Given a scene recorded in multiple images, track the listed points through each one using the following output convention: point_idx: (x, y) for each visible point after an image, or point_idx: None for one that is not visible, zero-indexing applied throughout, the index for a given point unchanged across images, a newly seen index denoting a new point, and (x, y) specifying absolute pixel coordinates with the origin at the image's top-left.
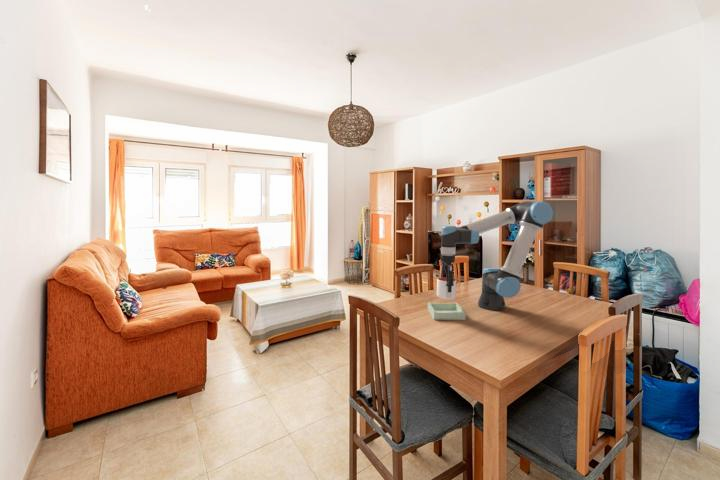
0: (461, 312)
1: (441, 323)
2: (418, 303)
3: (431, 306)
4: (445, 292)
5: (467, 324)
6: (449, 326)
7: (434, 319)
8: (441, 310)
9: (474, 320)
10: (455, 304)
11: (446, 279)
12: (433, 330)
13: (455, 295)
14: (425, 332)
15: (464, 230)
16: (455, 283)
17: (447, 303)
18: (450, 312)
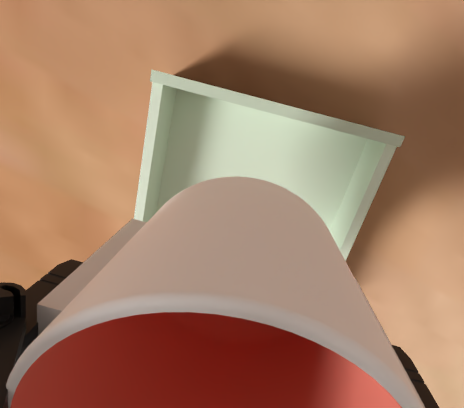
0: (383, 165)
1: (368, 289)
2: (29, 251)
3: None
4: (325, 362)
5: (448, 160)
6: (424, 273)
7: None
8: None
9: (409, 66)
10: (165, 86)
11: (51, 352)
12: (433, 361)
13: (312, 209)
14: (436, 397)
15: None
16: (385, 340)
17: (152, 153)
18: (351, 241)
